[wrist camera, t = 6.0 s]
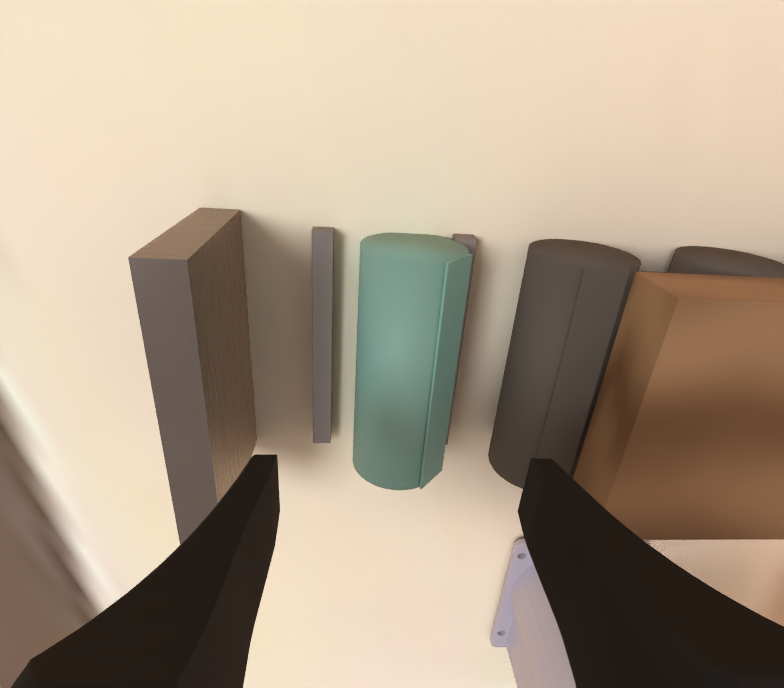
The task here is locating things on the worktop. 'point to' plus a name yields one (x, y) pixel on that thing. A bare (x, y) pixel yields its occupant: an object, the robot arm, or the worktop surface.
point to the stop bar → (198, 356)
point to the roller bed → (537, 340)
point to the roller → (406, 355)
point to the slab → (692, 410)
